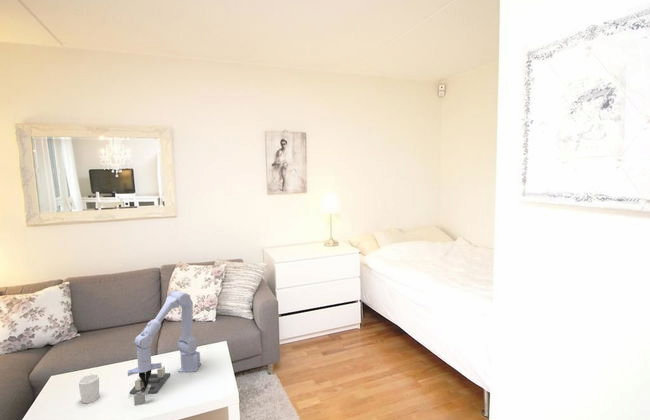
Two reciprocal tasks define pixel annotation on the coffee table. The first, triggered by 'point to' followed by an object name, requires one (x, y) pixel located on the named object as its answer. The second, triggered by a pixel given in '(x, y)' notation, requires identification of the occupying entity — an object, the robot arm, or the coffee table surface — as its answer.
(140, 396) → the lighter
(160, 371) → the switch
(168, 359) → the coffee table surface
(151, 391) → the switch unit
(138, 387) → the switch
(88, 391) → the white cup
